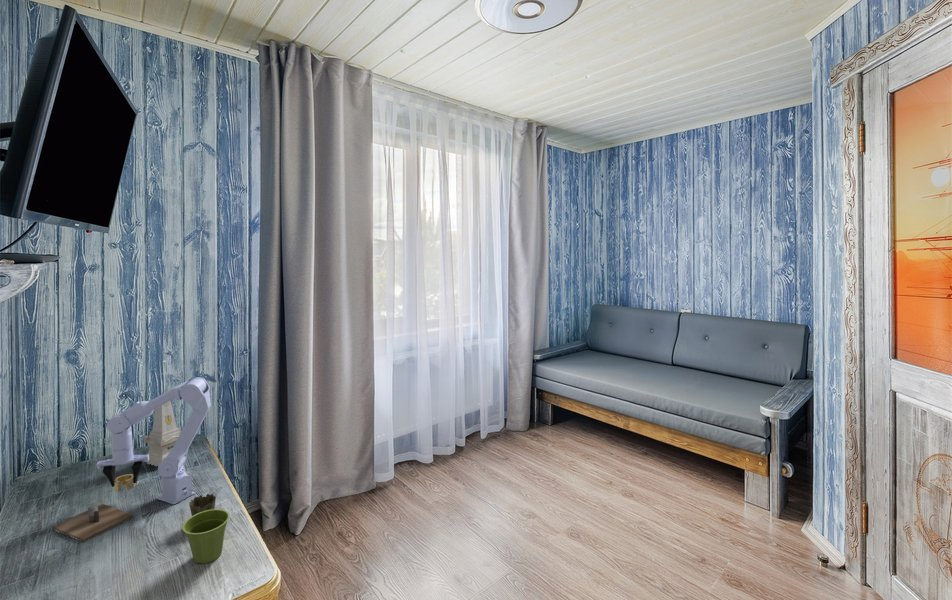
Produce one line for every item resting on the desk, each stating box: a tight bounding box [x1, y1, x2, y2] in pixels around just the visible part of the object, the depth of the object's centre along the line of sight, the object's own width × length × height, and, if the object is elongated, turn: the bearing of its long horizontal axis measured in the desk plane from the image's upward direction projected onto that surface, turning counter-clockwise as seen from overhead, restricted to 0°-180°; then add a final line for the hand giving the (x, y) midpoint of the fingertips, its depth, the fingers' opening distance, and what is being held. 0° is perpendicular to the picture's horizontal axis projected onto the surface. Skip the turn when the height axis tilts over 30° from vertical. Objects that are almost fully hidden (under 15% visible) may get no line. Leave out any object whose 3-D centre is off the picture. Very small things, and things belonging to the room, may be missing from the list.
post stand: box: [51, 503, 134, 542], centre depth 143 cm, size 16×14×6 cm
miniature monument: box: [143, 392, 182, 468], centre depth 185 cm, size 10×10×30 cm
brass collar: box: [113, 473, 137, 493], centre depth 156 cm, size 6×6×4 cm
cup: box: [189, 493, 217, 517], centre depth 145 cm, size 8×7×8 cm
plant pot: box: [181, 508, 230, 564], centre depth 129 cm, size 12×12×11 cm
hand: (124, 483), depth 156 cm, fingers closed on brass collar, 6 cm apart
